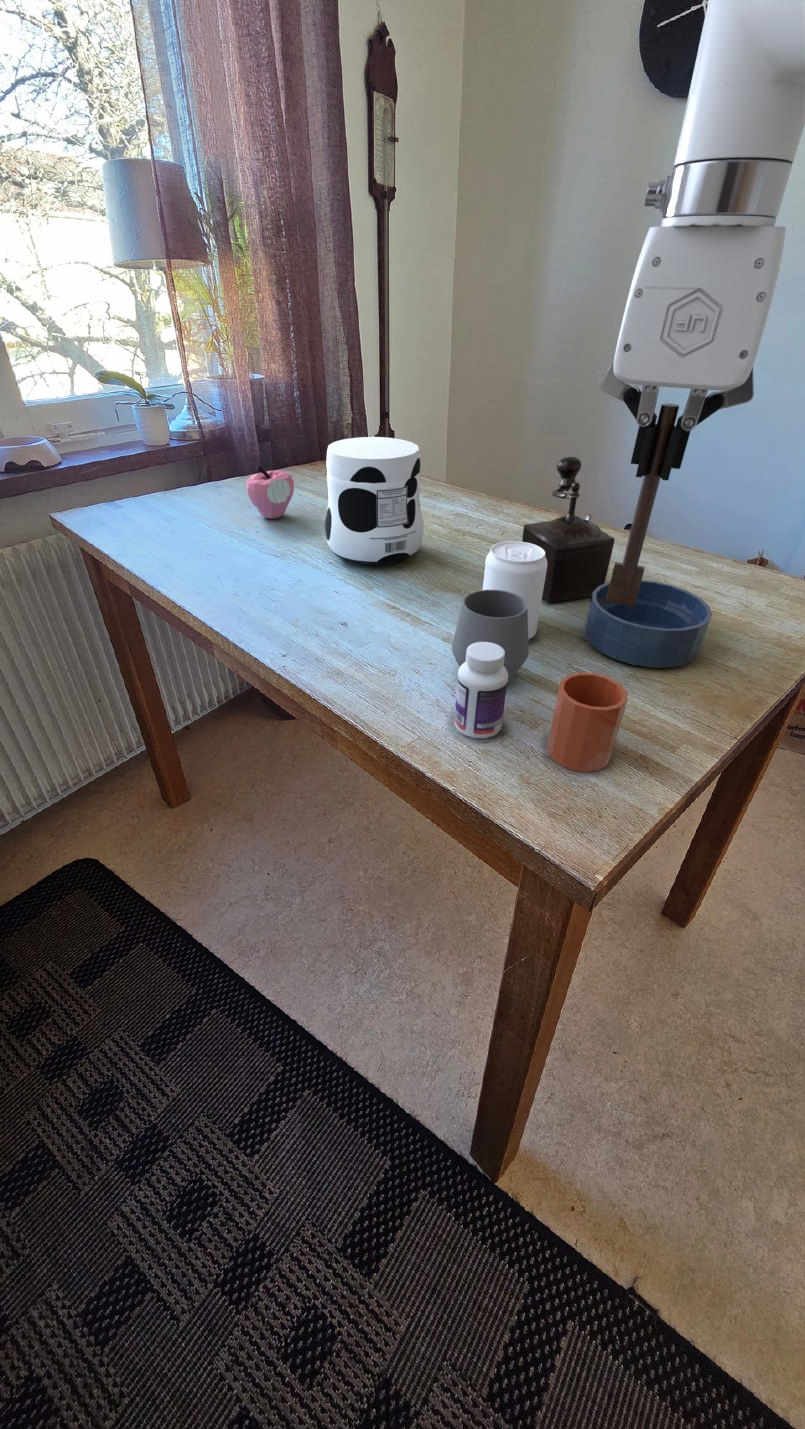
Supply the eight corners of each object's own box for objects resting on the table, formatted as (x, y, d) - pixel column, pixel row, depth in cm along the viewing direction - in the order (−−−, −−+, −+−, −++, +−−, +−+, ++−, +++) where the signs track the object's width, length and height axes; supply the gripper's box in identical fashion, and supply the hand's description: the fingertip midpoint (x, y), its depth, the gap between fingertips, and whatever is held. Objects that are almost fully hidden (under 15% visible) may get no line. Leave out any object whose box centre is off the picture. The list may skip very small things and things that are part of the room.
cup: (517, 655, 81) (527, 586, 75) (530, 695, 73) (543, 622, 67) (447, 655, 80) (451, 586, 74) (453, 695, 73) (459, 622, 67)
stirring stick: (635, 602, 61) (688, 405, 50) (633, 608, 60) (688, 408, 49) (606, 597, 62) (653, 402, 51) (605, 603, 60) (652, 405, 50)
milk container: (355, 530, 118) (352, 431, 107) (437, 545, 112) (442, 442, 101) (308, 561, 105) (299, 452, 95) (397, 580, 100) (398, 466, 89)
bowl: (722, 659, 81) (738, 619, 77) (630, 680, 76) (642, 639, 72) (646, 610, 92) (657, 573, 88) (562, 626, 87) (569, 588, 84)
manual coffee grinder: (608, 595, 96) (635, 478, 85) (547, 605, 93) (568, 485, 82) (556, 559, 108) (575, 452, 97) (501, 566, 105) (514, 457, 94)
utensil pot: (623, 763, 63) (642, 701, 58) (569, 778, 61) (584, 715, 56) (586, 727, 68) (600, 667, 63) (534, 740, 66) (546, 679, 61)
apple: (259, 526, 119) (253, 474, 113) (243, 514, 125) (236, 463, 119) (303, 518, 123) (299, 467, 117) (286, 507, 129) (281, 457, 123)
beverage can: (537, 622, 88) (550, 543, 81) (534, 649, 82) (548, 566, 75) (482, 615, 90) (490, 537, 83) (475, 642, 83) (483, 559, 76)
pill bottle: (507, 718, 69) (518, 644, 63) (493, 745, 65) (503, 669, 60) (463, 706, 71) (469, 633, 65) (446, 731, 67) (452, 657, 61)
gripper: (601, 199, 42) (556, 475, 53) (859, 195, 37) (751, 498, 48) (614, 208, 47) (571, 455, 58) (840, 205, 43) (747, 475, 54)
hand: (653, 473), depth 53 cm, fingers closed on stirring stick, 1 cm apart
